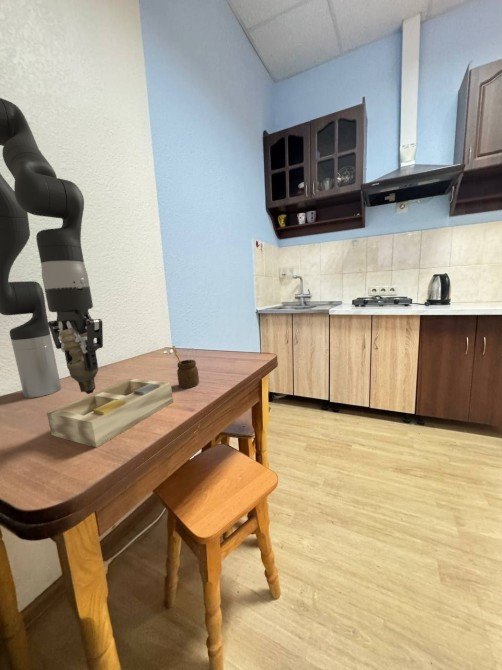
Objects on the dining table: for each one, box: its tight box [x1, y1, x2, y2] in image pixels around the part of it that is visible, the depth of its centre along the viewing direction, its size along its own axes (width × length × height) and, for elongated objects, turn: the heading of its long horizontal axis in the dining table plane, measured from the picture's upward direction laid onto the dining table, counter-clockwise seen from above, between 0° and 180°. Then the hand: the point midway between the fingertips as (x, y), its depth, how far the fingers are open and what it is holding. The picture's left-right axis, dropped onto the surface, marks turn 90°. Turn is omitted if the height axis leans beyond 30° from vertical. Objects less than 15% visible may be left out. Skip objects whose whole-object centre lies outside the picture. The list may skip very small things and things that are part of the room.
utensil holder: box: [172, 345, 200, 389], centre depth 81 cm, size 6×6×12 cm
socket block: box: [46, 378, 174, 448], centre depth 63 cm, size 14×21×6 cm, turn 155°
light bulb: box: [60, 329, 99, 395], centre depth 57 cm, size 6×6×15 cm
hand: (82, 368), depth 58 cm, fingers closed on light bulb, 5 cm apart
